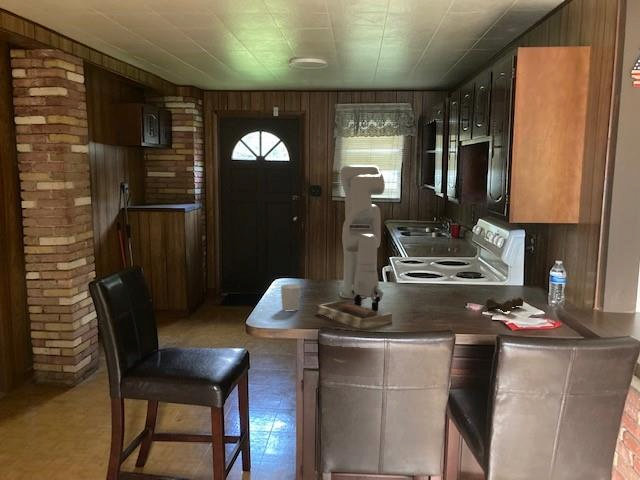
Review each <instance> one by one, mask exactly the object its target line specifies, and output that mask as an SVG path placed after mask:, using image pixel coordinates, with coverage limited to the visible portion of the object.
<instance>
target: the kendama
mask: <svg viewBox="0 0 640 480" xmlns="http://www.w3.org/2000/svg"><path fill="white" fill-rule="evenodd" d="M485 306H486V307H485V308H486V309H487V310H488V311H493V310H498V309H500V310H499V311H501V310H502V311H503V312H507V311H511V312H512V311H513V308H512V307H516V306H522V307H523V306H524V300H523V298H522V297H521V296H514V297H510V298H508V300H504V301H498V300H497V299H496V298H494V297H489V298H487V300H486V303H485ZM502 311H501V312H502ZM503 312H502V313H503Z"/></svg>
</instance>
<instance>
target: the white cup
mask: <svg viewBox="0 0 640 480" xmlns="http://www.w3.org/2000/svg"><path fill="white" fill-rule="evenodd" d="M280 293H281V298H280V299H281V304H282V305H281V309H282V308H283V309H284V310H297V309H298V308H299V307H300V297H301V296H300V295H301V286H300V285H299V284H294V283H292V284H291V283H288V284H282V285H281V286H280ZM299 309H300V308H299ZM299 309H298V310H299Z"/></svg>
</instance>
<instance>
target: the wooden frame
mask: <svg viewBox="0 0 640 480" xmlns="http://www.w3.org/2000/svg"><path fill="white" fill-rule="evenodd" d="M345 303H348V300H347V299H342V300H336V301H332V302H327V303H322V304H317V305H316V313H318V314H321V315H324V316H326V317H325V318H327V317H329V318H328V319H330V318H331V320H333V319H334V320H333V321H336V322H339V323H342V324H346V325H348V326H351V327H353V328H357V329H360V330H363V331H364V330H368V329H371V328H375V327H379V326H383V325H386V324H391V323H393V313H392V312H386V313H382V314H377V316H373V317H369V318H365V319H362V318H359V317H356V316H353V315H350V314H346V313H343V312H340V311H338V307H339V305H341V304H345ZM316 313H315V314H316ZM318 314H317V315H318ZM321 315H320V316H321ZM324 316H323V317H324Z"/></svg>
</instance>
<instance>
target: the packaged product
mask: <svg viewBox="0 0 640 480" xmlns="http://www.w3.org/2000/svg"><path fill="white" fill-rule="evenodd" d="M337 311H340V312H343V313H346V314H350V315H353V316H356V317H359V318H362V319H365V318H369V317H373V316H377V315H378V311H377V312H376V311H373V310H372V309H370V308H367V307H363V306H362V305H361V306H358V305H355V303H351V302H347V303H345V304H341V305H339V307H338V310H337Z"/></svg>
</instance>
